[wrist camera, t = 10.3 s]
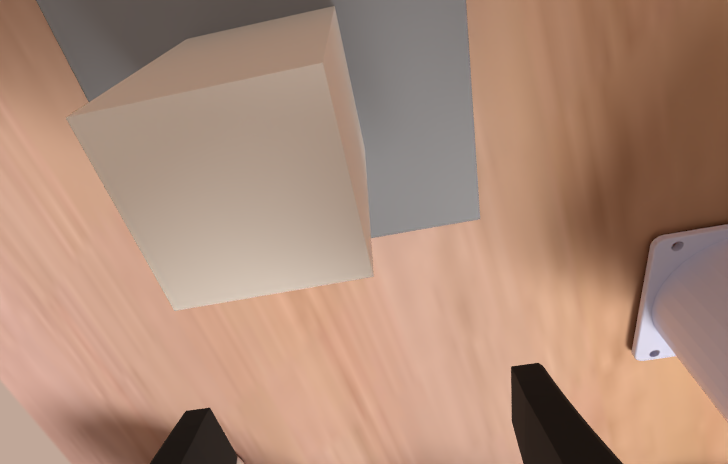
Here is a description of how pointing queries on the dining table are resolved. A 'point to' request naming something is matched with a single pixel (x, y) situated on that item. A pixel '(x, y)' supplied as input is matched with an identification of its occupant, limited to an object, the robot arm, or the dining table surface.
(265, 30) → the ivory block
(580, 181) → the dining table surface
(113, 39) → the base block
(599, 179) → the dining table surface
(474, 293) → the dining table surface
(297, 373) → the dining table surface
